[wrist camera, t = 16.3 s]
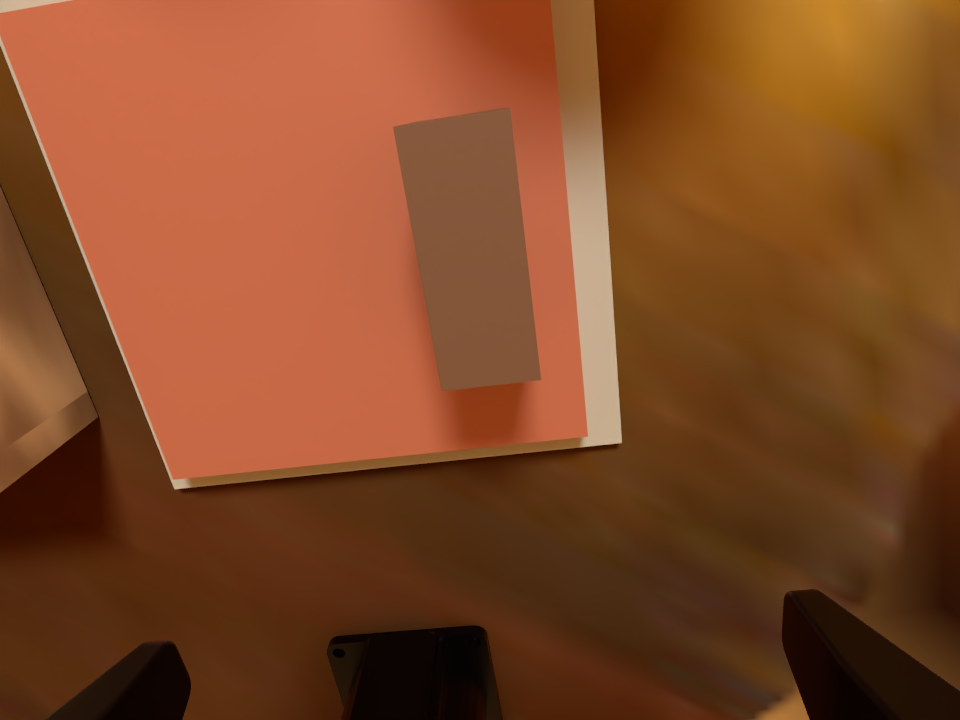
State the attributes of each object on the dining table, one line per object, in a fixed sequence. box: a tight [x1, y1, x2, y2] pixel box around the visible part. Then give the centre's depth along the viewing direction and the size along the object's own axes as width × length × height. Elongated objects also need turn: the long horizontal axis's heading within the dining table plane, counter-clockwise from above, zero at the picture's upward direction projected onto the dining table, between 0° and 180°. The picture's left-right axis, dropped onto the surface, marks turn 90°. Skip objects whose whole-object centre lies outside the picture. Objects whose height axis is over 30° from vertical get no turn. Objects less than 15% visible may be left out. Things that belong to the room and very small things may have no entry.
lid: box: [0, 0, 588, 480], centre depth 16 cm, size 14×14×5 cm
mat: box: [0, 0, 622, 489], centre depth 19 cm, size 16×16×1 cm
